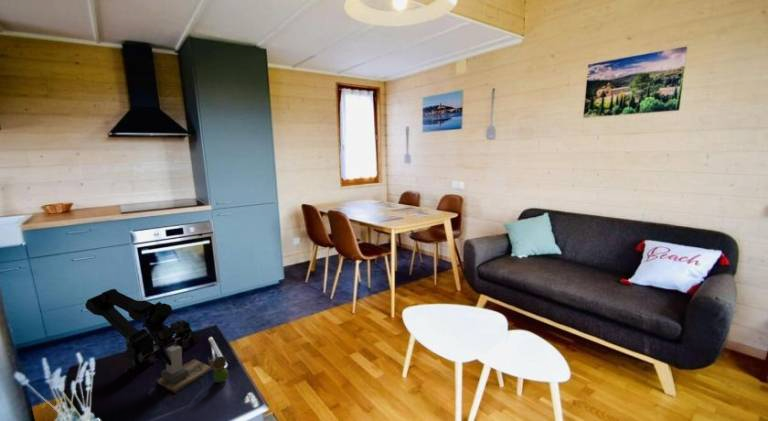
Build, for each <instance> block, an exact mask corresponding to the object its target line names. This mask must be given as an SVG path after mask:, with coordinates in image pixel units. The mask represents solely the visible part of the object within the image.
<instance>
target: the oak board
mask: <svg viewBox="0 0 768 421" xmlns="http://www.w3.org/2000/svg"><path fill="white" fill-rule="evenodd" d="M182 367H183V368H185V369H187V370H188V376H187V377H185V378H183V379H181V380H179V381H177V382H175V383H173V384H172V383H170V382H169V381H167V380H165V379H163V378H161V377H160V378H159V379H158V380H157V383H158V384H159V385H161V387H164V388H165V389H168V390H170V391H171V392H173V393H174V394H176V393H178V392H180V390H182V389H184V388H185V387H187V386H189V385H190V384H191V383H194V382H195V381H196V380H198V379H200V378H201V377H203V376H204V375H206V374H208V373H209V372H210V371H211V370H212V371H213V369H212V368H211V367H210V365H209V364H206V363H203V362H202V361H199V360H198V359H195V358H193V359H192V360H190V361H188V362H186V363H184V364H182Z"/></svg>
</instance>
